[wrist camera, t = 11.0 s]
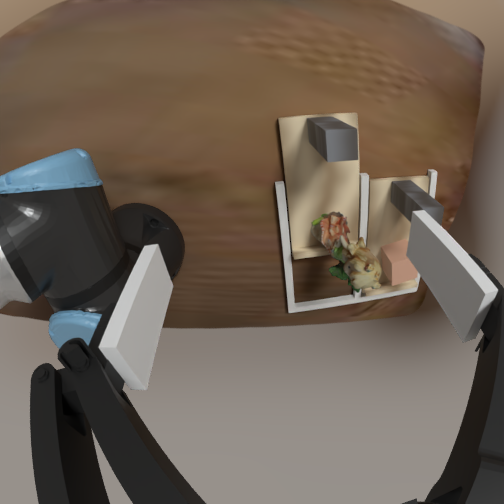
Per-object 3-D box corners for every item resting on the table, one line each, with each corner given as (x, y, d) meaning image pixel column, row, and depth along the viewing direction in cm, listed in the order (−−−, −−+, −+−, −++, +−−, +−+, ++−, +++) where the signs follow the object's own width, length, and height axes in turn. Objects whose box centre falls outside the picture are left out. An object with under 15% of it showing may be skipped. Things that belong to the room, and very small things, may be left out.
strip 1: (292, 253, 49) (302, 297, 40) (278, 117, 37) (289, 131, 28) (355, 245, 48) (377, 285, 39) (355, 112, 36) (388, 125, 27)
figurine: (309, 204, 44) (338, 261, 32) (356, 203, 44) (398, 256, 32) (307, 254, 49) (329, 319, 37) (349, 251, 49) (381, 312, 37)
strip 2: (360, 289, 54) (379, 331, 45) (368, 179, 42) (399, 209, 33) (410, 280, 53) (433, 318, 44) (426, 175, 41) (464, 203, 32)
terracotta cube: (382, 268, 50) (392, 286, 46) (380, 246, 47) (391, 263, 43) (406, 260, 49) (417, 277, 45) (405, 238, 47) (418, 254, 43)
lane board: (288, 308, 56) (288, 313, 55) (274, 182, 42) (275, 184, 41) (414, 287, 54) (416, 291, 53) (433, 169, 41) (437, 171, 40)
